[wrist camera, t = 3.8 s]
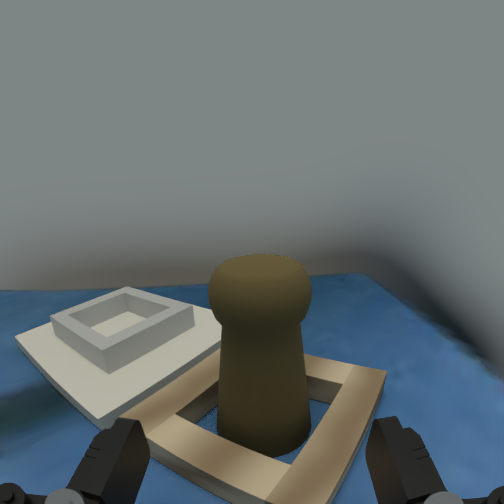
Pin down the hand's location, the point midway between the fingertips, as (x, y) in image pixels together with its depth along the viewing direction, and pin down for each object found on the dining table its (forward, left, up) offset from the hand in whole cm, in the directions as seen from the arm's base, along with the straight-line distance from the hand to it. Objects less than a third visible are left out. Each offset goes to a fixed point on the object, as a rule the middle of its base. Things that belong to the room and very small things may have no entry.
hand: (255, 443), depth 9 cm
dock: (-21, +9, -7) cm, 23 cm away
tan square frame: (-4, +7, -7) cm, 10 cm away
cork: (-4, +7, -7) cm, 10 cm away
